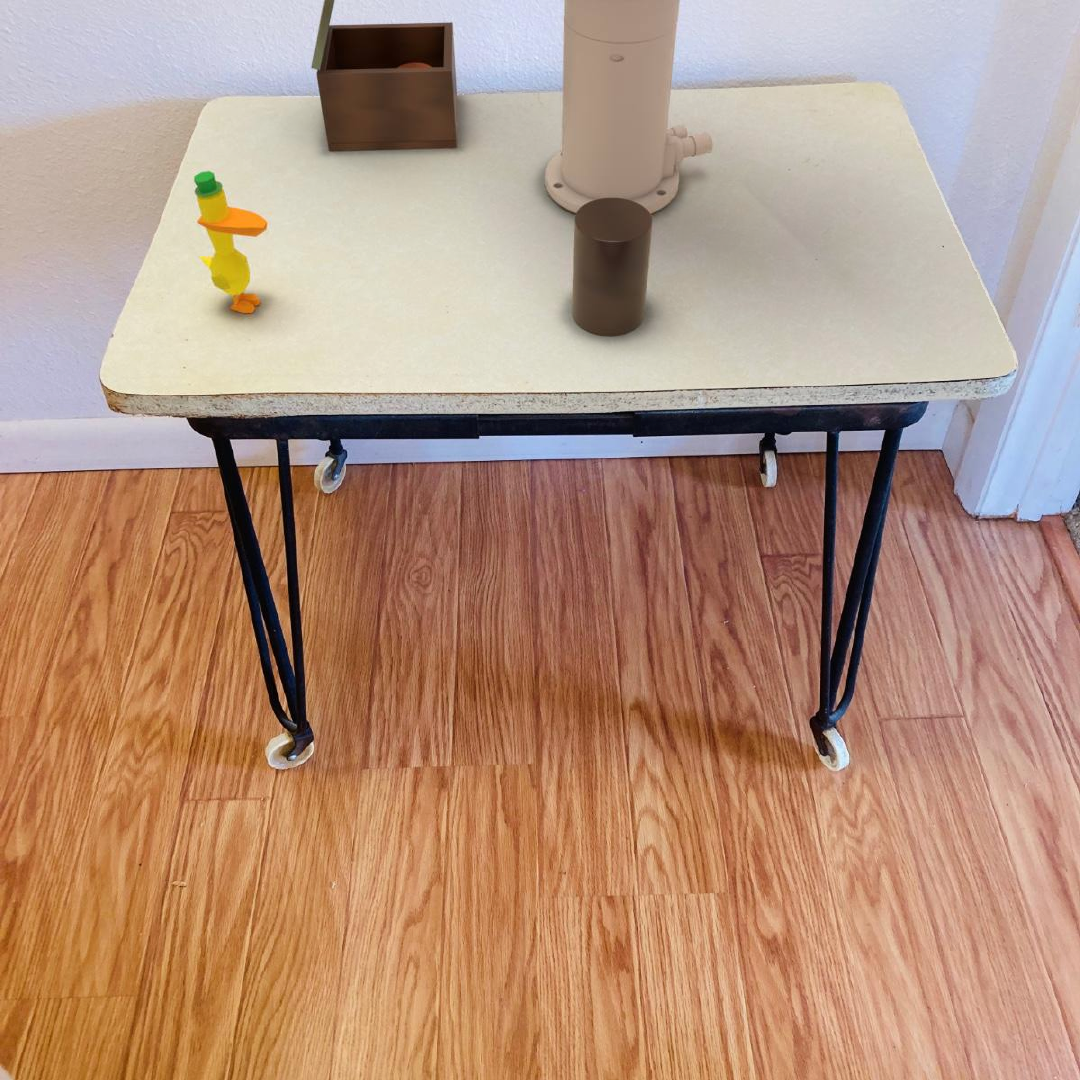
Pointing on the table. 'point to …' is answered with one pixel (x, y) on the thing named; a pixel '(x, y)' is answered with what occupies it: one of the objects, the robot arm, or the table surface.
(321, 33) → the lid
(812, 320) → the table surface
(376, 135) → the brown wooden open box
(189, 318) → the table surface
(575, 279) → the peg stand
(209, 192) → the toy figure
